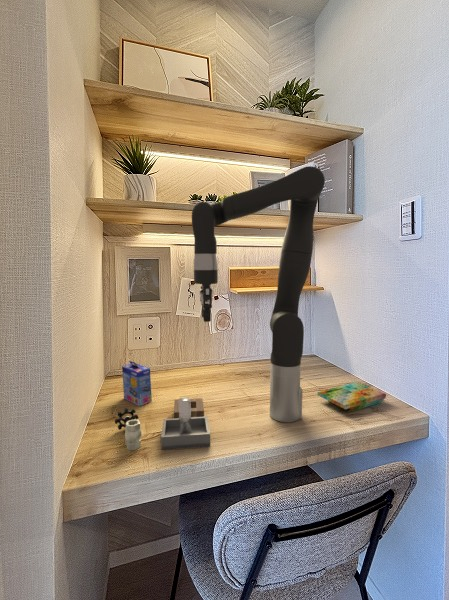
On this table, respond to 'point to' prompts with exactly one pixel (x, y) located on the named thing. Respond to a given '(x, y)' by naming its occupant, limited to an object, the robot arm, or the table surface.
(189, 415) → the pin
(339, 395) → the puzzle game
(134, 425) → the valve
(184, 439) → the tray
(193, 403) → the pin block
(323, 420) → the table surface
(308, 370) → the table surface
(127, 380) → the ink cartridge box
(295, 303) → the robot arm
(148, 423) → the table surface
